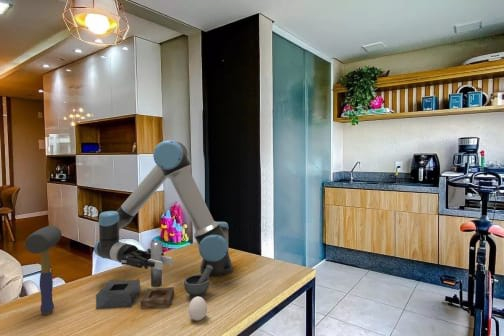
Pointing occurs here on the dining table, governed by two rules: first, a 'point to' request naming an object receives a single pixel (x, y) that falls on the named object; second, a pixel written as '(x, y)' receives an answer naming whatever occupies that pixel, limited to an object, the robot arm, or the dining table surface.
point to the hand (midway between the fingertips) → (166, 263)
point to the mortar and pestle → (198, 284)
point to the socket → (118, 294)
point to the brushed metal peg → (157, 255)
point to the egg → (197, 308)
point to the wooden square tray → (157, 298)
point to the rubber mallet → (44, 261)
